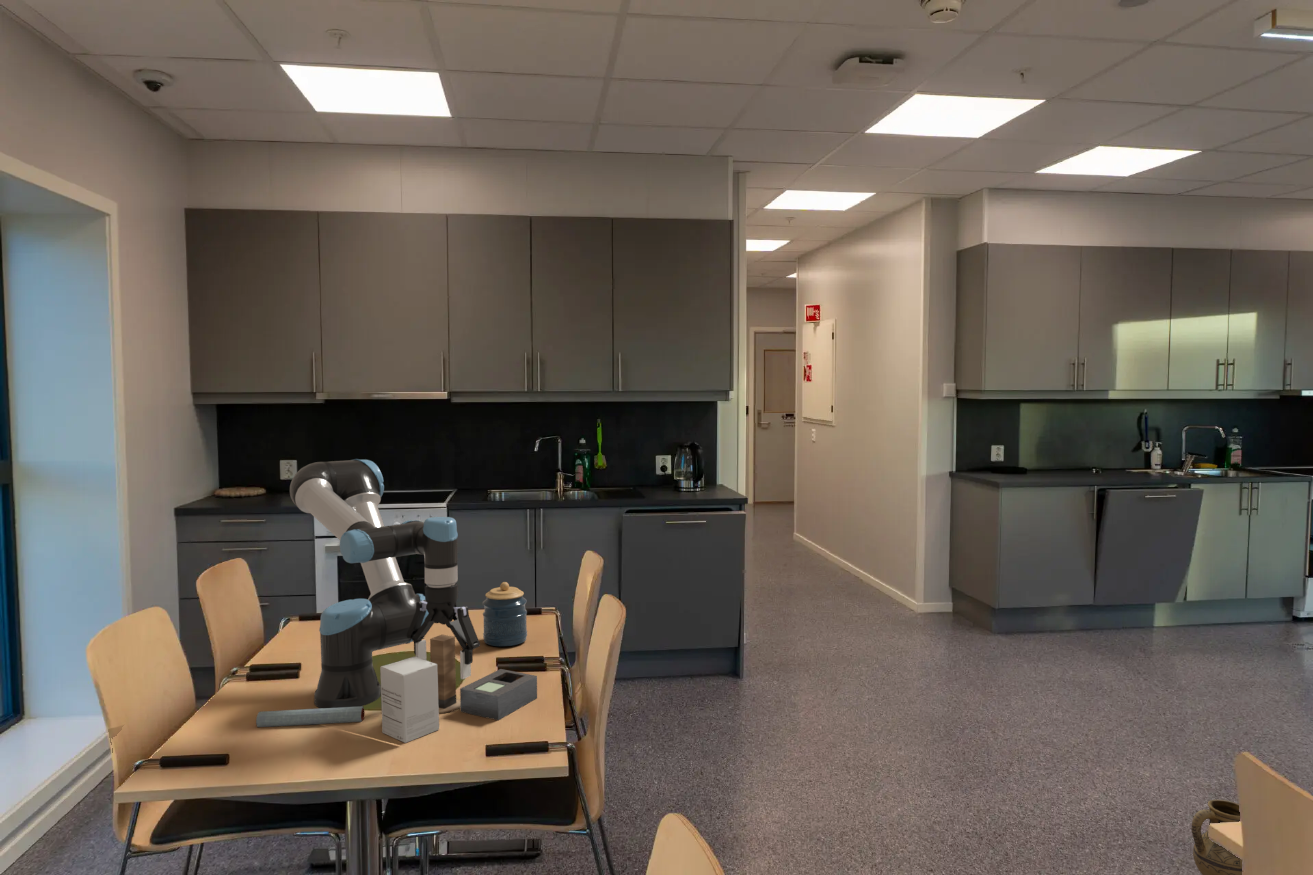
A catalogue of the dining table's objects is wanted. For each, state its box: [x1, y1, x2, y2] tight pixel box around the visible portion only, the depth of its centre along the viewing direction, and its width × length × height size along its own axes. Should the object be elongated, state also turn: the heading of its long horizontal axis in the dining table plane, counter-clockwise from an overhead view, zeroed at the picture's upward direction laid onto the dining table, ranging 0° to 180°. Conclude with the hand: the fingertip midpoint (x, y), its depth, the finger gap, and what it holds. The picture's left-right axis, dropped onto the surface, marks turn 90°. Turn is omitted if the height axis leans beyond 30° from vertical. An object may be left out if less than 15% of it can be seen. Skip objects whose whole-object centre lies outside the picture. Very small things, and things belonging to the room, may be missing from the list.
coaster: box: [439, 698, 461, 715], centre depth 193 cm, size 8×8×1 cm
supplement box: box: [379, 656, 440, 744], centre depth 179 cm, size 9×9×15 cm
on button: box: [476, 682, 505, 693], centre depth 191 cm, size 5×5×2 cm
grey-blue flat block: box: [255, 706, 365, 728], centre depth 186 cm, size 23×7×3 cm, turn 97°
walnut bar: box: [429, 634, 457, 709], centre depth 192 cm, size 4×4×16 cm
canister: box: [482, 581, 528, 647], centre depth 244 cm, size 13×13×18 cm
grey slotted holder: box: [459, 668, 538, 721], centre depth 194 cm, size 11×15×6 cm
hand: (443, 672), depth 192 cm, fingers open, 13 cm apart
